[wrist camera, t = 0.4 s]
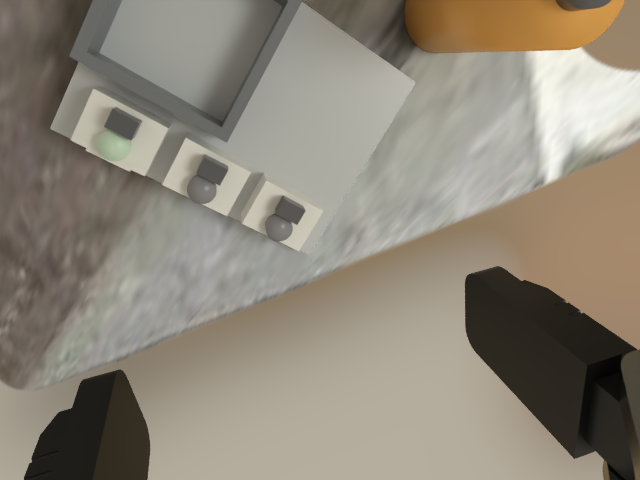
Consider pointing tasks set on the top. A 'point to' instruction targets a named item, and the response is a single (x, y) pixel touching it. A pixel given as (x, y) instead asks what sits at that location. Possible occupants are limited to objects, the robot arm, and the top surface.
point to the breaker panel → (232, 105)
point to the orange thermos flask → (507, 24)
